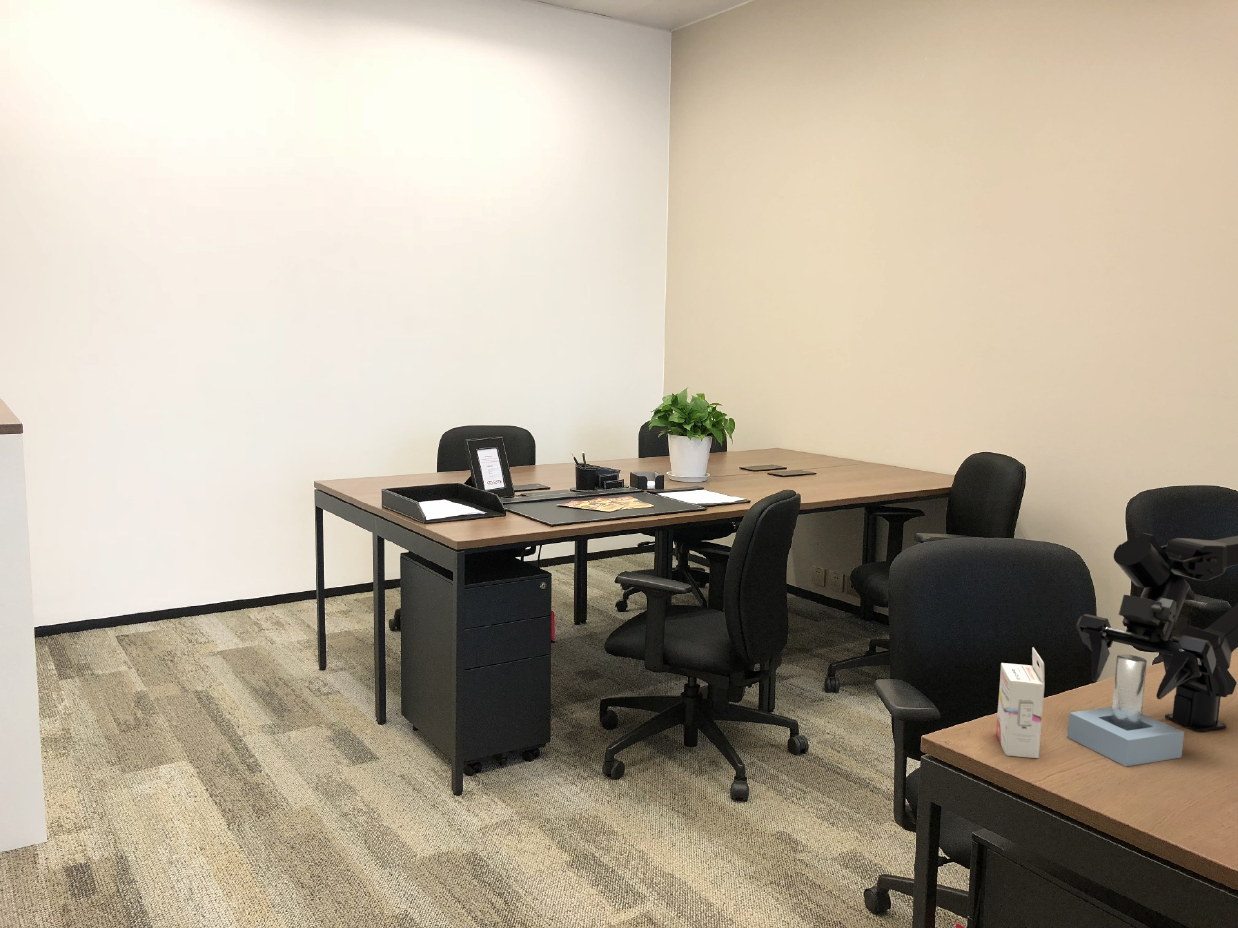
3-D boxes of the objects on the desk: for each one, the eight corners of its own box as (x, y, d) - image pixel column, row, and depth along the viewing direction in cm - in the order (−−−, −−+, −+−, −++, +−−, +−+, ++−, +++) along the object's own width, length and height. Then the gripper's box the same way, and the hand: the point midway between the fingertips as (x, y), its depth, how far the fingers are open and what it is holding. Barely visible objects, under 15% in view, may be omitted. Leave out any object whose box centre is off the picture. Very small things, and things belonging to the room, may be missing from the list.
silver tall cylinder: (1122, 740, 149) (1130, 653, 148) (1144, 750, 146) (1153, 661, 144) (1102, 743, 148) (1110, 655, 146) (1124, 753, 144) (1132, 664, 142)
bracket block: (1120, 729, 154) (1122, 705, 153) (1181, 757, 144) (1184, 731, 143) (1067, 736, 150) (1069, 712, 149) (1125, 766, 140) (1128, 740, 139)
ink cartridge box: (993, 733, 151) (1001, 643, 149) (1027, 737, 150) (1035, 645, 148) (1004, 756, 142) (1012, 660, 140) (1039, 759, 141) (1048, 663, 139)
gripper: (1086, 564, 153) (1049, 644, 147) (1217, 588, 139) (1183, 677, 133) (1101, 604, 159) (1067, 682, 153) (1229, 631, 146) (1197, 718, 140)
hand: (1125, 688), depth 145 cm, fingers open, 9 cm apart
